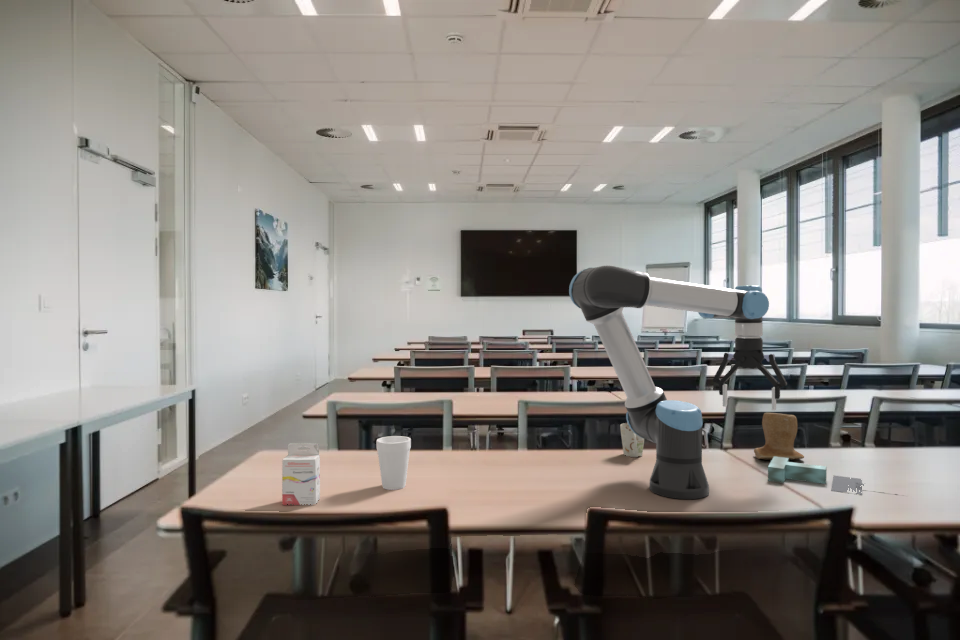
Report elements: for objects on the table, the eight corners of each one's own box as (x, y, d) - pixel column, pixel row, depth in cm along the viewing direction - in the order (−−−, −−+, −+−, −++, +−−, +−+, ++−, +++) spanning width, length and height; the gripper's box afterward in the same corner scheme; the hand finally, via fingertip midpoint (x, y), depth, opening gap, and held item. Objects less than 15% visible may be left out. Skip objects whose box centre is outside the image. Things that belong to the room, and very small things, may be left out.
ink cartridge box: (281, 506, 149) (280, 447, 148) (287, 499, 154) (286, 443, 153) (316, 505, 149) (315, 447, 149) (320, 499, 154) (320, 442, 154)
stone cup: (790, 454, 199) (791, 409, 199) (809, 463, 187) (809, 415, 187) (744, 453, 200) (745, 409, 199) (760, 462, 188) (760, 415, 188)
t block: (767, 480, 169) (768, 466, 168) (773, 469, 180) (773, 456, 180) (824, 488, 161) (825, 473, 161) (827, 476, 173) (827, 462, 173)
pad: (831, 490, 159) (831, 490, 159) (833, 475, 173) (833, 475, 173) (909, 501, 150) (909, 501, 150) (904, 484, 164) (904, 484, 164)
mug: (643, 452, 202) (643, 423, 202) (650, 461, 190) (650, 430, 190) (618, 451, 203) (618, 422, 203) (623, 461, 191) (623, 430, 190)
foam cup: (378, 492, 159) (378, 444, 159) (375, 483, 168) (374, 437, 168) (413, 489, 162) (413, 442, 161) (408, 480, 170) (408, 435, 170)
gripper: (797, 337, 174) (797, 409, 174) (708, 335, 188) (708, 402, 188) (793, 338, 168) (793, 413, 168) (702, 337, 182) (702, 406, 182)
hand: (748, 407), depth 178 cm, fingers open, 13 cm apart
